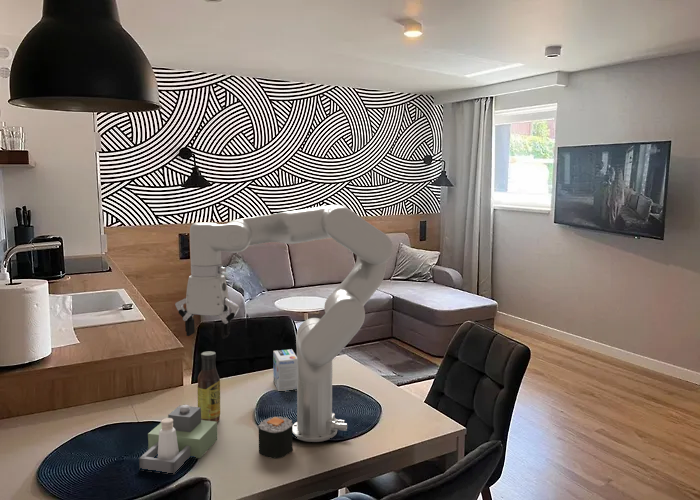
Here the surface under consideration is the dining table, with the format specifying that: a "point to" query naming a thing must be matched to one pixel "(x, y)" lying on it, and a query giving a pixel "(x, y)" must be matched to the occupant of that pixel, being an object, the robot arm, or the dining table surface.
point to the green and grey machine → (181, 439)
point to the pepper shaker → (167, 440)
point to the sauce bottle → (209, 388)
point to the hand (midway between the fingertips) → (207, 335)
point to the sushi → (275, 437)
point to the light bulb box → (285, 370)
